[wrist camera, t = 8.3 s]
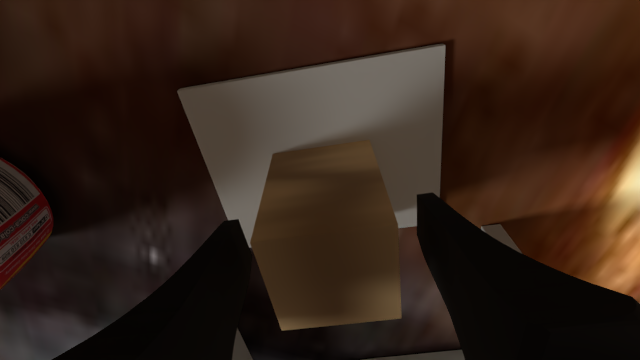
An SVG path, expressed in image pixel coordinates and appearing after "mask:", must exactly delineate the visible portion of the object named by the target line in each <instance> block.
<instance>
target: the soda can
mask: <svg viewBox="0 0 640 360" xmlns="http://www.w3.org/2000/svg"><path fill="white" fill-rule="evenodd" d="M52 229H53V215H52V211H51V208H50V206H49V204H48V201H47V200H46V198H45V196H44V195H43V193H42V192H41V191H40V189H39V188H38V187H37V186H36V184H35V183H34V182H33V181H32V180H31V179H30V178H29V177H28V176H27V175H26V174H25V173H24V172H22V171H21V170H20V169H19V168H17V167H16V166H14V165H13V164H11V163H9V162H8V161H6V160H4V159H2V158H1V157H0V290H1V289H2V288H3V287H4V286H5V285H6V284H7V283H8V282H9V281H10V280H11V279H12V278H13V277H14V276H15V275H16V274H17V273H18V272H19V271H20V270H21V269H22V268H23V267H24V266H25V265H26V264H27V263H28V262H29V261H30V260H31V258H32V257H33V256H34V255H35V254H36V252H37V251H38V250H39V249H40V248H41V246H42V245H43V244H44V243H45V242H46V240H47V239H48V238H49V236H50V234H51V233H52Z"/></svg>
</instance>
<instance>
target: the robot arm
mask: <svg viewBox="0 0 640 360" xmlns="http://www.w3.org/2000/svg"><path fill="white" fill-rule="evenodd" d="M417 236H418V239H419V243H420V246H421V249H422V252H423V255H424V258H425V260H426V262H427V265H428V267H429V269H430V271H431V274H432V276H433V278H434V280H435V282H436V284H437V287H438V289H439V291H440V293H441V295H442V298H443V300H444V302H445V304H446V306H447V309H448V311H449V314H450V316H451V319H452V322H453V325H454V328H455V331H456V334H457V337H458V340H459V342H460V346H461V349H462V352H463V355H464V358H465V360H640V304H639V303H638V302H637V301H636V300H635V299H634V298H633V297H631V296H628V295H625V294H622V293H619V292H616V291H613V290H610V289H607V288H604V287H601V286H598V285H594V284H591V283H589V282H586V281H583V280H581V279H578V278H576V277H573V276H570V275H568V274H565V273H563V272H561V271H558V270H556V269H553V268H551V267H549V266H547V265H544V264H542V263H540V262H538V261H536V260H534V259H532V258H530V257H527V256H526V255H524V254H522V253H520V252H518V251H516V250H514V249H512V248H511V247H509V246H507V245H505V244H503V243H502V242H500V241H498V240H497V239H495V238H493V237H492V236H490V235H489V234H487V233H486V232H484V231H482V230H481V229H479V228H478V227H477V226H475V225H474V224H472V223H471V222H470V221H468V220H467V219H466V218H464V217H463V216H462V215H460V214H459V213H458V212H456V211H455V210H454V209H453V208H451V207H450V206H449V205H448V204H446V203H445V202H444V201H443V200H442V199H440V198H439V197H438V196H437V195H435V194H434V193H433V192H431V193H424V194H417ZM251 261H252V254H251V251H250V249H249V246H248V243H247V241H246V238H245V235H244V233H243V230H242V227H241V225H240V222H239V219H235V220H228V221H224V222H223V223H222V224H221V225H220V226H219V227H218V228H217V229H216V230H215V231H214V232H213V233H212V235H211V236H210V237H209V238H208V239H207V240H206V241H205V242H204V243H203V245H202V246H201V247H200V248H199V249H198V250H197V251H196V252H195V253H194V254H193V255H192V257H191V258H190V259H189V260H188V261H187V262H186V263H185V264H184V265H183V266H182V267H181V268H180V269H179V270H178V271H177V272H176V273H175V274H174V275H173V276H171V277H170V278H169V279H168V280H167V281H166V282H165V283H164V284H163V285H162V286H160V287H159V288H158V289H157V290H156V291H154V292H153V293H152V294H151V295H150V296H148V297H147V298H146V299H145V300H143V301H142V302H141V303H139V304H138V305H137V306H135V307H134V308H133V309H131V310H130V311H129V312H127V313H126V314H125V315H123V316H122V317H121V318H119V319H118V320H116V321H115V322H113V323H112V324H110V325H109V326H107V327H106V328H104V329H103V330H101V331H100V332H98V333H97V334H95V335H93V336H92V337H90V338H89V339H87V340H85V341H84V342H82V343H80V344H78V345H77V346H75V347H73V348H71V349H70V350H68V351H66V352H65V353H63V354H61V355H59V356H58V357H56V358H54V359H52V360H232V356H233V349H234V342H235V337H236V332H237V327H238V323H239V319H240V315H241V311H242V307H243V303H244V299H245V295H246V291H247V287H248V283H249V279H250V271H251Z"/></svg>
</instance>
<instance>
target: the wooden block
mask: <svg viewBox="0 0 640 360" xmlns="http://www.w3.org/2000/svg"><path fill="white" fill-rule="evenodd" d="M250 244H251V247H252V250H253V252H254V255H255V258H256V261H257V264H258V266H259V269H260V272H261V275H262V277H263V280H264V283H265V286H266V289H267V291H268V294H269V297H270V300H271V302H272V305H273V308H274V311H275V314H276V316H277V319H278V322H279V325H280V327H281V330H282V331H285V330H294V329H304V328H313V327H323V326H333V325H342V324H352V323H362V322H371V321H381V320H390V319H400V318H401V292H400V265H399V238H398V223H397V220H396V217H395V214H394V211H393V208H392V205H391V202H390V199H389V196H388V193H387V190H386V187H385V184H384V181H383V178H382V175H381V172H380V169H379V166H378V163H377V160H376V157H375V155H374V152H373V149H372V146H371V143H370V140H364V141H357V142H350V143H343V144H337V145H330V146H323V147H316V148H309V149H302V150H295V151H288V152H281V153H275V154H273V155H272V159H271V163H270V167H269V170H268V174H267V178H266V182H265V186H264V190H263V194H262V198H261V202H260V206H259V209H258V213H257V217H256V221H255V225H254V229H253V233H252V237H251V241H250Z"/></svg>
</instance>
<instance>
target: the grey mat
mask: <svg viewBox="0 0 640 360" xmlns="http://www.w3.org/2000/svg"><path fill="white" fill-rule="evenodd" d="M445 47H446V45H444V44H436V45H430V46H424V47H418V48H413V49H407V50H401V51H395V52H389V53H383V54H378V55H372V56H366V57H360V58H354V59H349V60H343V61H337V62H331V63H325V64H319V65H314V66H308V67H302V68H296V69H290V70H285V71H279V72H273V73H267V74H261V75H255V76H250V77H244V78H238V79H232V80H226V81H220V82H215V83H209V84H203V85H197V86H191V87H186V88H180V89H179V90H178V91H177V93H178V95H179V98H180V100H181V103H182V105H183V108H184V110H185V113H186V115H187V118H188V120H189V123H190V125H191V128H192V130H193V133H194V135H195V138H196V140H197V143H198V145H199V148H200V150H201V153H202V156H203V158H204V161H205V163H206V166H207V168H208V171H209V173H210V176H211V178H212V181H213V183H214V186H215V188H216V191H217V193H218V196H219V198H220V201H221V203H222V206H223V208H224V211H225V213H226V216H227V218H228V220H235V219H239V222H240V225H241V227H242V230H243V233H244V235H245V238H246V241H247V243H248V246H249V248H250V247H251V244H250V241H251V237H252V233H253V229H254V225H255V221H256V217H257V213H258V209H259V206H260V202H261V198H262V194H263V190H264V186H265V182H266V178H267V174H268V170H269V167H270V163H271V159H272V155H273V154H275V153H281V152H288V151H295V150H302V149H309V148H316V147H323V146H330V145H337V144H343V143H350V142H357V141H364V140H370V143H371V146H372V149H373V152H374V155H375V157H376V160H377V163H378V166H379V169H380V172H381V175H382V178H383V181H384V184H385V187H386V190H387V193H388V196H389V199H390V202H391V205H392V208H393V211H394V214H395V217H396V220H397V223H398V228H404V227H412V226H417V194H424V193H431V192H433V193H434V194H435V195H437V196H438V197H439V198H440V176H441V150H442V124H443V98H444V73H445Z"/></svg>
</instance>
